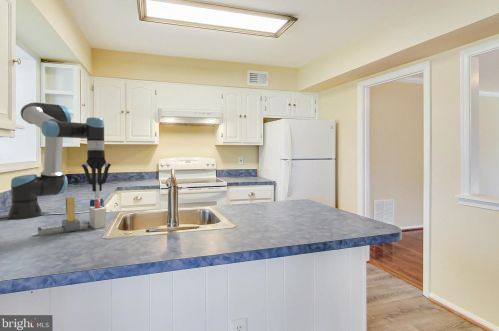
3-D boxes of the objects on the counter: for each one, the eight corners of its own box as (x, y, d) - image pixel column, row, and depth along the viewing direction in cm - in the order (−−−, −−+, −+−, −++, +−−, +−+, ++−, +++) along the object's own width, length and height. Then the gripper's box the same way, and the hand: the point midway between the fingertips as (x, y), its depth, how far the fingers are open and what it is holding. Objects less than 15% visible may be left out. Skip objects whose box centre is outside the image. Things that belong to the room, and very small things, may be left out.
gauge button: (94, 215, 145) (93, 199, 145) (99, 215, 147) (99, 199, 147) (95, 216, 143) (95, 200, 143) (101, 215, 145) (100, 199, 145)
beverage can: (98, 223, 151) (97, 199, 151) (87, 222, 153) (86, 199, 152) (106, 220, 158) (106, 197, 157) (96, 219, 159) (95, 197, 159)
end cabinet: (89, 224, 147) (89, 206, 147) (100, 223, 151) (100, 205, 150) (95, 228, 140) (94, 209, 140) (106, 226, 143) (106, 208, 143)
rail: (37, 234, 131) (37, 227, 130) (85, 227, 143) (85, 220, 143) (38, 235, 128) (38, 228, 128) (87, 228, 141) (87, 221, 141)
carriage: (61, 228, 139) (60, 197, 138) (76, 226, 143) (75, 195, 142) (65, 232, 133) (64, 199, 132) (80, 229, 137) (79, 197, 136)
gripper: (82, 149, 137) (84, 200, 138) (112, 149, 145) (113, 197, 146) (79, 149, 142) (80, 198, 143) (107, 149, 151) (109, 195, 152)
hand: (97, 198), depth 145 cm, fingers closed
